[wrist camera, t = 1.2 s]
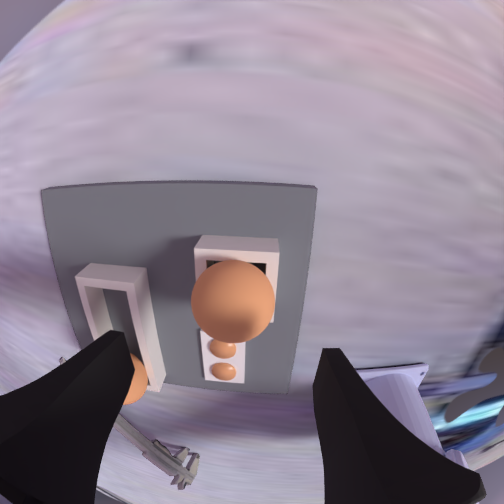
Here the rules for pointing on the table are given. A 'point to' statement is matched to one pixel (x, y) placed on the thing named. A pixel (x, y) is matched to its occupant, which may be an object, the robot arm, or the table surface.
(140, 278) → the hollow rectangular frame
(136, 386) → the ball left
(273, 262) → the tube
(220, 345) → the card
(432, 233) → the table surface
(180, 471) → the caliper
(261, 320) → the ball
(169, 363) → the mat
